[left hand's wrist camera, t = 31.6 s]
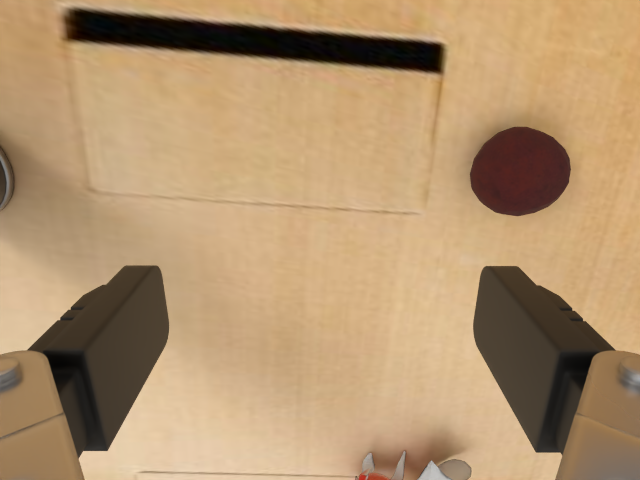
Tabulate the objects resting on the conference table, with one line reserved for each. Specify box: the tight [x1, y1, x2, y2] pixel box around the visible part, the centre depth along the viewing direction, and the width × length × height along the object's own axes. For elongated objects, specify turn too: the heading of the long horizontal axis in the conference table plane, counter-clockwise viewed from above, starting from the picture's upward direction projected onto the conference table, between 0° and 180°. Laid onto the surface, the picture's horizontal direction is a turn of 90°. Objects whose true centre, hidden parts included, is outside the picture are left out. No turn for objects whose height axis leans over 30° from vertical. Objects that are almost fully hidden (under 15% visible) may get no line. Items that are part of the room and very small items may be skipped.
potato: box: [470, 127, 571, 216], centre depth 38 cm, size 7×8×7 cm
